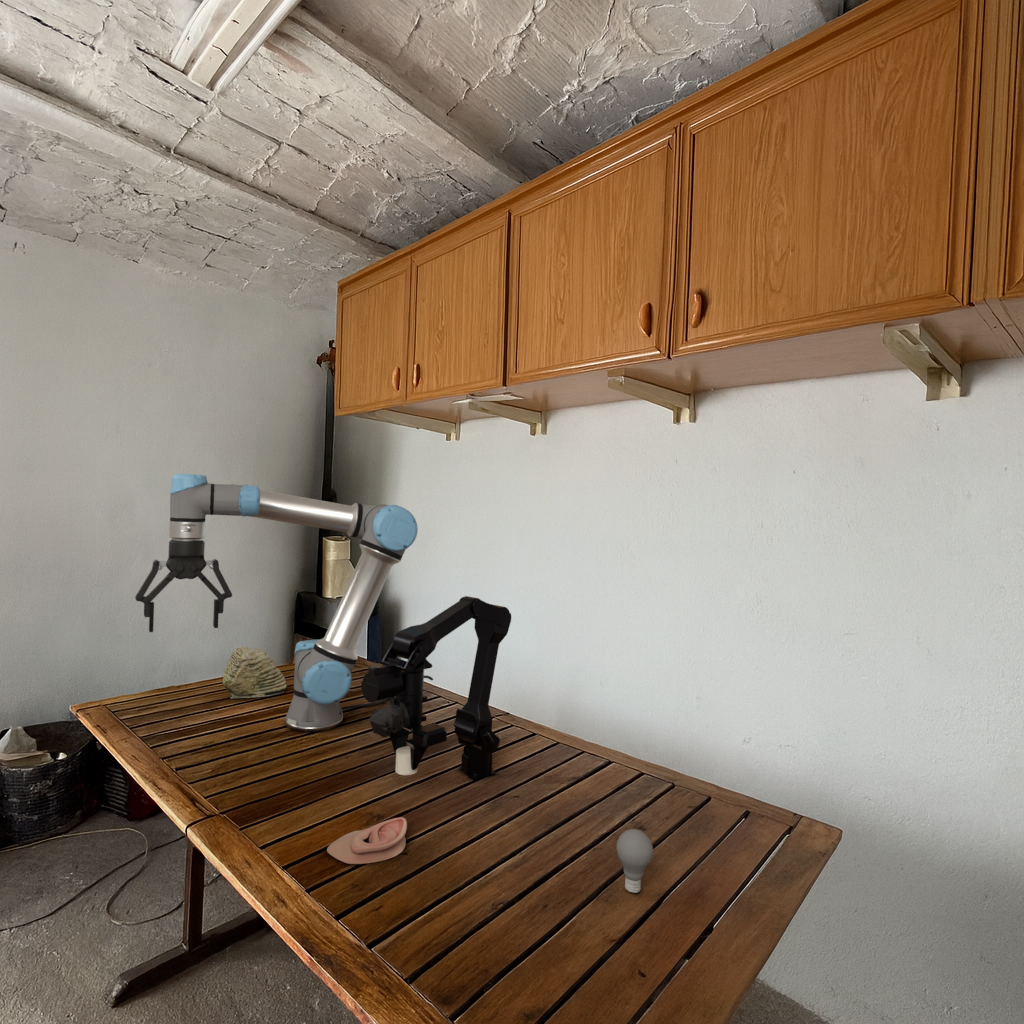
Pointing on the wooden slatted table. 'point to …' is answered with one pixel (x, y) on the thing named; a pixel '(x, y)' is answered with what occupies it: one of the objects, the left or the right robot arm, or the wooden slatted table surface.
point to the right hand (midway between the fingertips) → (406, 765)
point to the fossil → (252, 674)
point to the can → (404, 761)
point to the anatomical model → (371, 843)
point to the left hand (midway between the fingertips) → (184, 629)
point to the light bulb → (634, 857)
